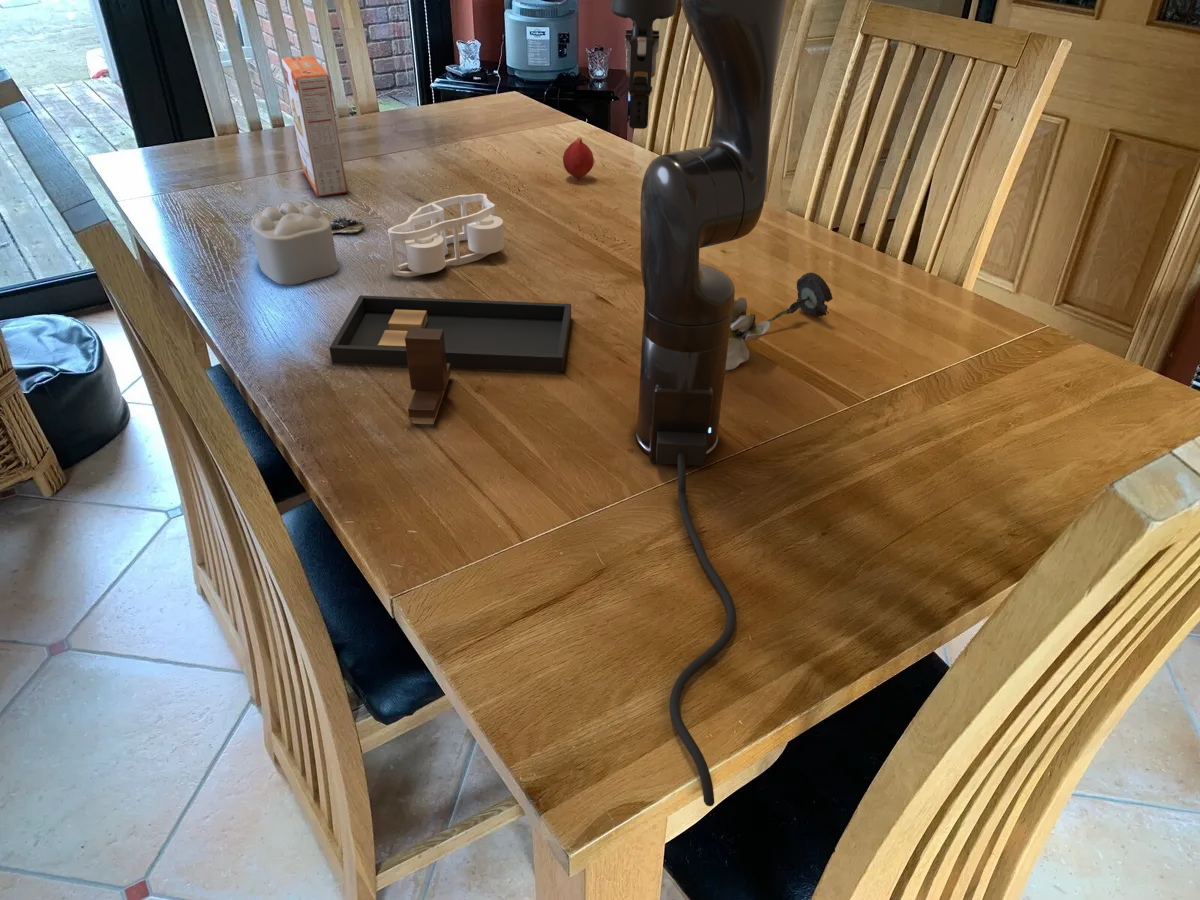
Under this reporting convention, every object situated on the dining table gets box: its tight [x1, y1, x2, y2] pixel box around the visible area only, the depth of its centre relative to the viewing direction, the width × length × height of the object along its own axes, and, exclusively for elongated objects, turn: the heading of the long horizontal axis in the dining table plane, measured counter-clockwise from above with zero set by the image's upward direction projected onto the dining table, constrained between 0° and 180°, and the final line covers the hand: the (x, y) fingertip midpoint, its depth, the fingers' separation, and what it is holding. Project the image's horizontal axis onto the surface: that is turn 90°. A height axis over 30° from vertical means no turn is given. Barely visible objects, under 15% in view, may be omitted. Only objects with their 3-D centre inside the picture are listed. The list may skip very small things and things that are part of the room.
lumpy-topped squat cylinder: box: [250, 202, 339, 286], centre depth 136 cm, size 10×13×9 cm
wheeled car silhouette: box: [387, 193, 505, 277], centre depth 139 cm, size 20×11×7 cm, turn 132°
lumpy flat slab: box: [330, 216, 366, 234], centre depth 149 cm, size 7×8×2 cm
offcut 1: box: [378, 330, 408, 348], centre depth 117 cm, size 4×4×2 cm
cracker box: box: [281, 54, 349, 198], centre depth 160 cm, size 14×6×21 cm, turn 25°
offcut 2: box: [388, 309, 428, 331], centre depth 121 cm, size 4×4×2 cm
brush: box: [405, 328, 452, 425], centre depth 105 cm, size 10×4×10 cm, turn 177°
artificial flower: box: [725, 272, 834, 371], centre depth 120 cm, size 9×22×10 cm, turn 126°
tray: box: [328, 294, 572, 374], centre depth 119 cm, size 15×30×3 cm, turn 87°
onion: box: [562, 137, 595, 181], centre depth 169 cm, size 6×6×8 cm
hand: (638, 117), depth 109 cm, fingers open, 8 cm apart
